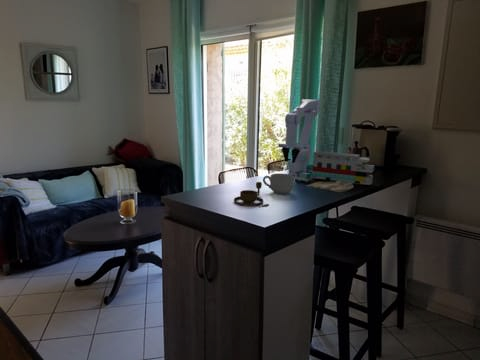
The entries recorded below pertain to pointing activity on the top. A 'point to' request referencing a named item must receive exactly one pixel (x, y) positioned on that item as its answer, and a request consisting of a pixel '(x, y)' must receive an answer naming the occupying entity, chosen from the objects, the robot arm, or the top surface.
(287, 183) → the teacup
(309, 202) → the top surface
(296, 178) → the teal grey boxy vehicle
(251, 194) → the place setting
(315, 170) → the toy vehicle
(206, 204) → the top surface
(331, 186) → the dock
